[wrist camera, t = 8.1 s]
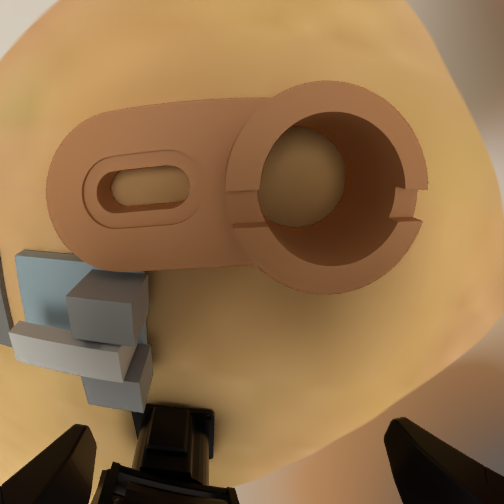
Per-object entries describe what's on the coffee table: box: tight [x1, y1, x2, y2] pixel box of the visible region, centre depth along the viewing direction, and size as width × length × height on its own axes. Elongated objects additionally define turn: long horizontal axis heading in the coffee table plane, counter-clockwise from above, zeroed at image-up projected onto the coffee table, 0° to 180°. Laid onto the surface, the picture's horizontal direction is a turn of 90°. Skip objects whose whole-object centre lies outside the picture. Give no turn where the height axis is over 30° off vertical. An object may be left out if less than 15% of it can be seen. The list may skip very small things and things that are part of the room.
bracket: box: [46, 81, 428, 294], centre depth 14 cm, size 18×8×7 cm, turn 92°
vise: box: [8, 250, 153, 413], centre depth 16 cm, size 8×10×5 cm
